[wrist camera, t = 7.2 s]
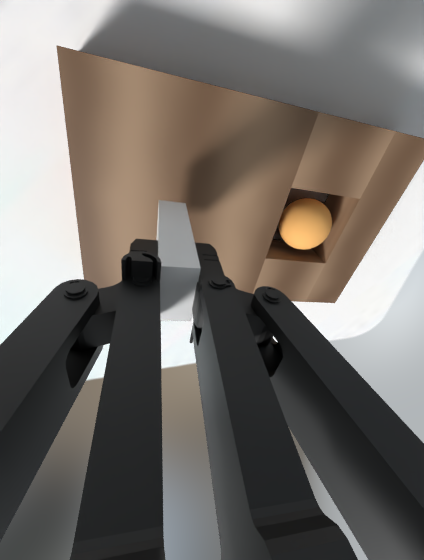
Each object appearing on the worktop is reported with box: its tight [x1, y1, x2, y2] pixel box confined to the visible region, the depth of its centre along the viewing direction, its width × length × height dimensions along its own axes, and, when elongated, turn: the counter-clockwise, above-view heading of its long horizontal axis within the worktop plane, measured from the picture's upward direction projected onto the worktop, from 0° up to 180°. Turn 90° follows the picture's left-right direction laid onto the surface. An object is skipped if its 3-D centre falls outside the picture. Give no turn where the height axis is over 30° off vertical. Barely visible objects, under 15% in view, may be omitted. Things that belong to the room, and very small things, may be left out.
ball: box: [279, 198, 332, 249], centre depth 20 cm, size 4×4×4 cm
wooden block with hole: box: [57, 46, 424, 303], centre depth 19 cm, size 22×14×4 cm, turn 78°
